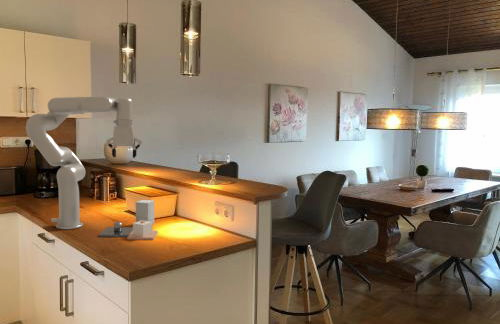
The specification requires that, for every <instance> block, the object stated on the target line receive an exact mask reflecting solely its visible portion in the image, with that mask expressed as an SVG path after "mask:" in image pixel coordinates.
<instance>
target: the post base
mask: <svg viewBox="0 0 500 324" xmlns="http://www.w3.org/2000/svg"><path fill="white" fill-rule="evenodd" d="M122 224H123V223H122V222H121V221H115V222H113V226H107V227H105V229H103V230H102V231H101V232H100V233H99V234H98V237H99V238H100V237H101V238H104V237H105V238H127V237H128V236H129V235H130V233H131V232H132V231H133V226H132V227H131V226H130V227H129V226H128V227H127V226H126V227H125V226H123V225H122Z"/></svg>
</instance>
